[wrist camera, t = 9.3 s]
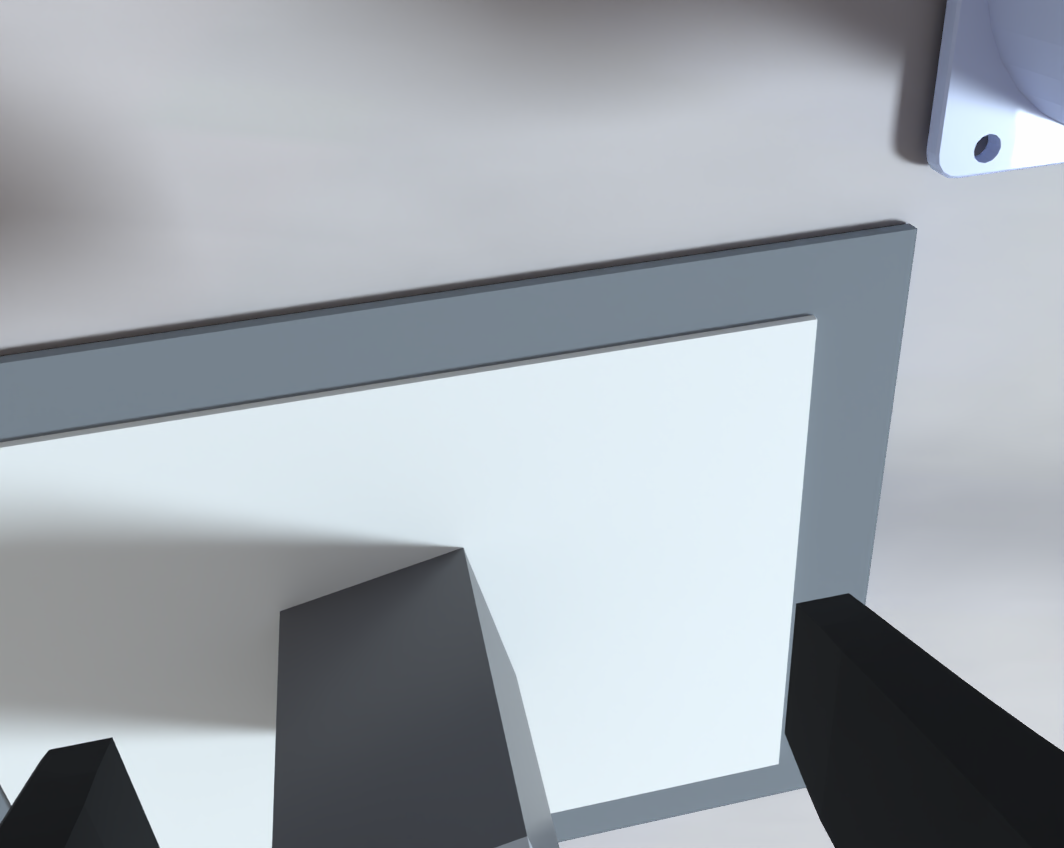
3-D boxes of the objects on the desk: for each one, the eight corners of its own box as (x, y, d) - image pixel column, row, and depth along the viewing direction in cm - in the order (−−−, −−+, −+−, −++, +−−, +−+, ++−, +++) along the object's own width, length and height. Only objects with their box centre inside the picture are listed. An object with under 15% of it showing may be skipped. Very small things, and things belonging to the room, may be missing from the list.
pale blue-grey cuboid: (463, 547, 20) (555, 967, 13) (516, 675, 23) (622, 1099, 15) (280, 611, 20) (264, 1071, 13) (350, 734, 23) (372, 1190, 15)
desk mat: (909, 223, 19) (922, 232, 19) (836, 771, 28) (844, 785, 27) (-324, 403, 16) (-340, 418, 16) (11, 952, 25) (6, 971, 24)
